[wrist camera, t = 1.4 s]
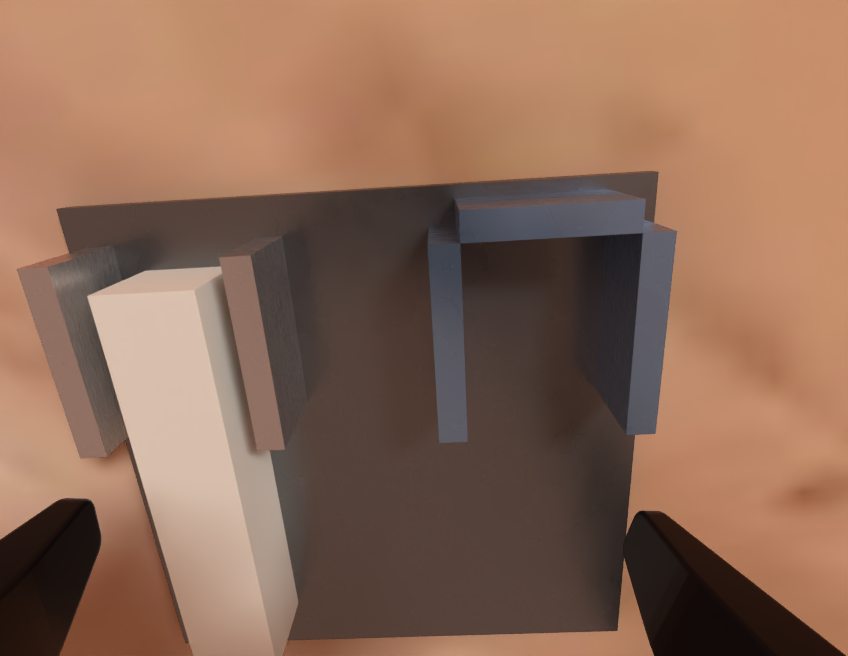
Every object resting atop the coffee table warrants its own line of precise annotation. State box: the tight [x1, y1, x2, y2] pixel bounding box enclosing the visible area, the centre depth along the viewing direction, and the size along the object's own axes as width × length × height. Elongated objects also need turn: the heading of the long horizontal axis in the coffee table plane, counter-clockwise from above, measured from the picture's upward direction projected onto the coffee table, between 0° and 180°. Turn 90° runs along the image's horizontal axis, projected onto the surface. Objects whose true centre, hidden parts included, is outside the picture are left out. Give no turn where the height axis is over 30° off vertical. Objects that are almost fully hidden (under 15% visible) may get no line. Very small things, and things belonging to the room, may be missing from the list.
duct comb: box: [17, 171, 677, 643], centre depth 21 cm, size 22×22×4 cm
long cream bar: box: [87, 266, 298, 656], centre depth 21 cm, size 17×4×4 cm, turn 4°
